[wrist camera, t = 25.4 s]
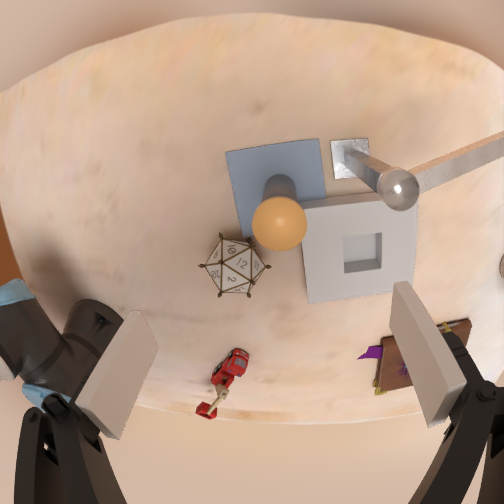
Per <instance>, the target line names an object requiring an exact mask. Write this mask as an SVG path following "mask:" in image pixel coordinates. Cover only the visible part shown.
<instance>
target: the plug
mask: <svg viewBox="0 0 504 504" xmlns="http://www.w3.org/2000/svg"><path fill="white" fill-rule="evenodd" d="M252 230H253V234H254V236H255V238H256V239H257V241H258V242H259V243H260V244H261V245H263V246H264V247H266V248H268V249H270V250H274V251H286V250H289V249H292V248H294V247H295V246H297V245H298V244H299V243H300V242H301V241H302V240H303V238H304V237H305V234H306V231H307V220H306V215H305V213H304V210H303V209H302V207H301V206H300V205H299V202H298V197H297V193H296V188H295V184H294V182H293V180H292V179H291V178H290V177H288V176H286V175H283V174H277V175H274V176H272V177H270V178H269V179H268V180H267V182H266V184H265V188H264V193H263V197H262V201H261V204H260V205H259V206H258V207H257V209H256V211H255V213H254V216H253V220H252Z"/></svg>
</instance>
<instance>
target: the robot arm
mask: <svg viewBox="0 0 504 504" xmlns="http://www.w3.org/2000/svg"><path fill="white" fill-rule="evenodd" d="M389 326H390V328H391V331H392V333H393V335H394V338H395V340H396V342H397V345H398V347H399V350H400V352H401V355H402V357H403V359H404V362H405V365H406V367H407V370H408V372H409V375H410V377H411V380H412V383H413V385H414V388H415V391H416V394H417V396H418V399H419V402H420V405H421V408H422V411H423V414H424V417H425V420H426V423H427V426H428V427H432V426H435V425H438V424H441V423H444V422H445V420H446V419H447V417H448V415H449V417H450V420H451V424H450V425H449V427H448V428H447V430H446V431H445V433H444V434H445V437H444V439H443V441H442V443H441V446H440V448H439V450H438V452H437V454H436V456H435V458H434V460H433V462H432V464H431V465H430V468H429V469H428V471H427V473H426V475H425V477H424V479H423V480H422V482H421V484H420V485H419V487H418V489H417V490H416V492H415V494H414V495H413V497H412V498H411V500H410V502H409V503H408V504H461V502H462V500H463V499H464V496H465V494H466V492H467V490H468V488H469V486H470V483H471V481H472V479H473V477H474V474H475V472H476V470H477V467H478V465H479V462H480V459H481V457H482V454H483V451H484V448H485V445H486V442H487V450H486V458H485V465H484V471H483V477H482V483H481V488H480V492H479V497H478V501H477V504H504V387H496V386H495V384H494V383H492V382H490V381H486V380H484V379H483V377H482V376H481V374H480V372H479V370H478V368H477V367H476V365H475V363H474V361H473V359H472V358H471V356H470V354H468V351H467V349H466V348H465V347H464V344H463V343H462V341H461V339H460V338H459V337H458V336H457V335H456V334H454V333H453V332H452V331H449V332H445V333H440V331H439V329H438V328H437V326H436V324H435V323H434V321H433V319H432V318H431V316H430V314H429V313H428V311H427V310H426V308H425V306H424V305H423V303H422V302H421V300H420V299H419V297H418V296H417V294H416V292H415V291H414V289H413V288H412V286H411V285H410V283H409V282H408V280H407V281H402V282H396V283H394V287H393V298H392V307H391V316H390V324H389ZM158 349H159V346H158V344H157V342H156V340H155V338H154V336H153V334H152V332H151V330H150V328H149V326H148V324H147V322H146V319H145V317H144V315H143V313H142V311H130V313H129V314H128V316H127V317H126V319H125V320H124V321H123V320H122V319H121V317H120V316H119V315H118V314H117V313H115V312H114V311H113V310H112V309H110V308H109V307H107V306H106V305H104V304H102V303H100V302H97V301H94V300H81V301H79V302H78V303H77V304H76V305H75V306H74V307H73V308H72V309H71V311H70V313H69V316H68V319H67V322H66V325H65V328H64V331H63V333H62V335H61V334H60V333H59V332H58V330H57V329H56V327H55V326H54V325H53V323H52V322H51V320H50V319H49V318H48V316H47V315H46V313H45V312H44V310H43V309H42V307H41V306H40V304H39V303H38V301H37V299H36V296H35V295H33V294H32V292H31V291H30V290H29V288H28V287H27V285H26V284H25V282H24V281H23V280H21V279H18V278H16V279H13V280H11V281H9V282H8V283H6V284H4V285H3V286H1V287H0V381H1V380H10V381H13V380H14V379H15V378H16V376H17V375H19V376H20V377H21V378H22V379H23V381H24V382H25V383H24V384H23V385H22V386H23V387H22V392H23V394H24V395H25V396H26V398H27V399H28V400H29V401H30V402H31V403H32V404H34V405H35V406H36V407H32V408H30V409H28V410H27V411H26V413H25V414H24V417H23V422H22V427H21V433H20V439H19V445H18V453H17V461H16V472H15V486H14V504H127V503H126V501H125V498H124V496H123V494H122V492H121V489H120V487H119V485H118V483H117V480H116V478H115V475H114V473H113V470H112V467H111V465H110V463H109V460H108V457H107V454H106V451H105V448H104V445H103V442H102V439H101V438H100V436H98V435H99V433H100V431H101V432H102V433H103V434H104V435H105V436H106V437H109V438H113V439H117V440H120V437H121V434H122V432H123V430H124V427H125V425H126V422H127V420H128V418H129V415H130V413H131V410H132V408H133V405H134V403H135V401H136V399H137V396H138V394H139V392H140V389H141V387H142V385H143V382H144V380H145V378H146V375H147V373H148V371H149V369H150V366H151V364H152V362H153V360H154V357H155V355H156V353H157V351H158ZM41 410H42V411H43V412H45V413H43V412H42V411H41ZM487 439H488V440H487ZM44 443H45V444H46V445H47V446H48V448H47V450H46V449H45V448H44Z"/></svg>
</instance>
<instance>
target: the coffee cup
mask: <svg viewBox="0 0 504 504" xmlns="http://www.w3.org/2000/svg"><path fill="white" fill-rule="evenodd" d="M500 273H501V275H502V277H503V278H504V256H503V258H502V260H501V264H500Z"/></svg>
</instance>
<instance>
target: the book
mask: <svg viewBox="0 0 504 504" xmlns="http://www.w3.org/2000/svg"><path fill="white" fill-rule="evenodd" d="M437 328H438V329H439V331H440V333H445V332H449V331H452V332H453V333H454V334H456V335H457V336H458V337H459V338H460V339H461V341H462V343H463V344H464V347H466V344H467V341H468V338H469V335H470V331H471V328H472V324H471V321H470V320H469V319H466V320H462V321H459V322H455V323H451V324H447V323H446V322H443V323H442V325H441V326H439V327H437ZM363 358H377V359H378V366H377V374H376V379H375V381H374V384H373V387H376V389H375V395H381V394H384V393H387V391H391V390H396V389H400V388H404V387H409V386H413V383H412V380H411V377H410V375H409V372H408V370H407V367H406V365H405V362H404V359H403V357H402V355H401V352H400V350H399V347H398V345H397V342H396V340H395V338H394V337H389V338H384V339H381V341H380V347H375V346H369V348H368V350H367V352H366V354H365V353H364V354H363V355H362V356H360V357H359V358H358V359H363Z"/></svg>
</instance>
